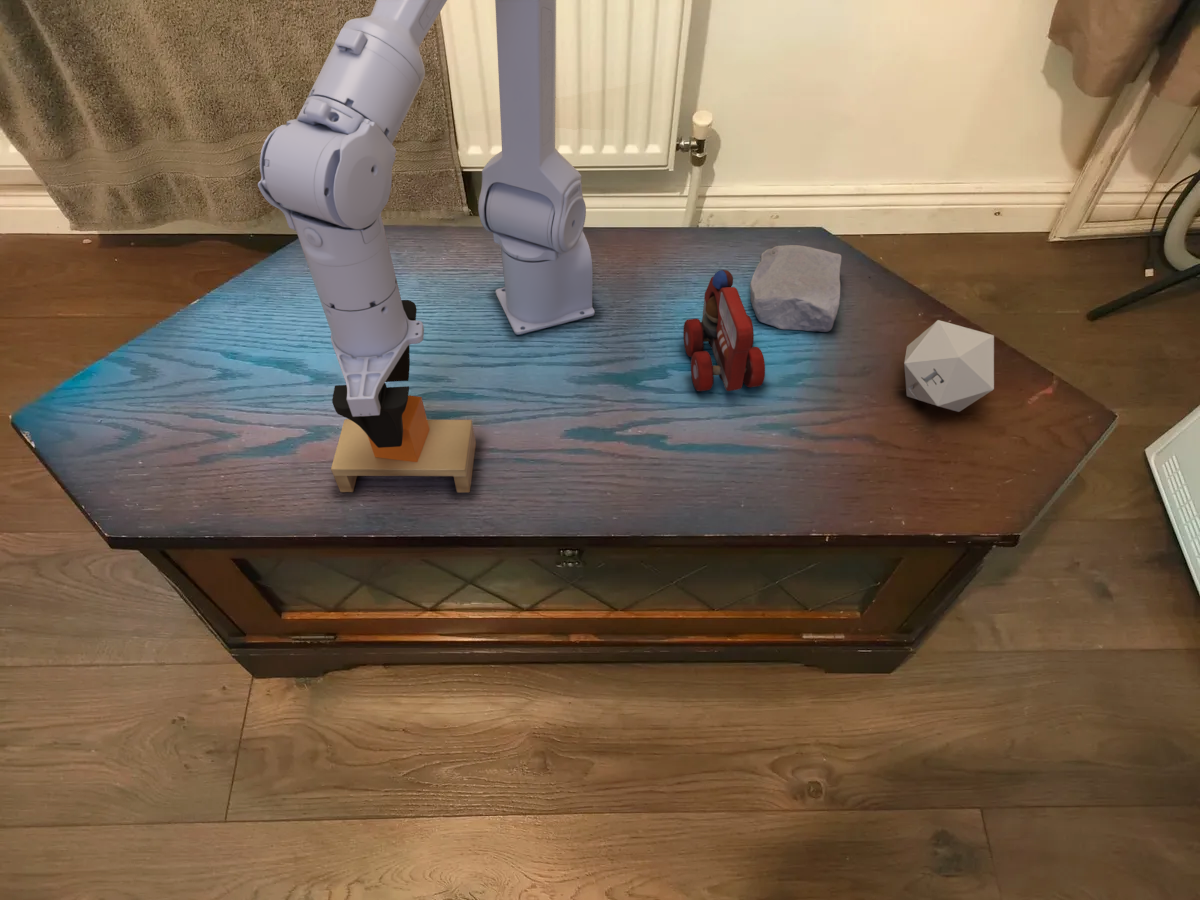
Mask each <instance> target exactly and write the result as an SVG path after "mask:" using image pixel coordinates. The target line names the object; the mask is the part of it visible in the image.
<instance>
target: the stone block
mask: <svg viewBox="0 0 1200 900" xmlns="http://www.w3.org/2000/svg"><path fill="white" fill-rule="evenodd" d="M841 264H842V255H841V254H840V253H836V252H835V253H834V252H832V251H829V250H825V249H821V248H816V247H813V246H812V247H811V246H804V245H797V244H788V245H787V244H786V245H775V246H773V247H772V248H768V249H765V251H763V252H762V253H761V255H760V260H759V263H758V264H757V265H756V267H755V269H754V271H753V275H752V277H751V280H750V284H749V288H750V293H749V294H750V302H751V307H752V309H753V311H754V315H755V317H756V319H757V320H758V322H760V323H763V324H766V325H769V326H771V327H774V328H777V329H779V330H791V331H792V330H794V331H797V330H798V331H805V332H821V333H825V332H826V333H828V332H830V331H831V330H832V329H833V327H834V324H835V320H836V318H837V314H838V313H839V312H838V310H839V306H840V300H841V299H840V298H841V280H840V275H841V266H842V265H841Z"/></svg>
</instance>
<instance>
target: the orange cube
mask: <svg viewBox="0 0 1200 900" xmlns="http://www.w3.org/2000/svg"><path fill="white" fill-rule="evenodd" d="M427 420H428V418H427V413H426V409H425V406H424V402H423V398H422V396H419V395H409V394H408V401H407V405H406V408H405V411H404V412H403V414H402V422H403V439H402V445H401V446H400V447H383V448H378V447H377V446H376V445H375V444H374V443H373V441H372V440H371V439H370V438H369V436H368V438H369V441H370V444H371V447H372V450H373V453H374V456H375V457H377V458H385V459H394V460H402V461H410V462H418V459H419V456H420V454H421V451H422V448H423V446H424V443H425V440H426V438H427V435H428V432H429V425H428V421H427Z"/></svg>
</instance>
